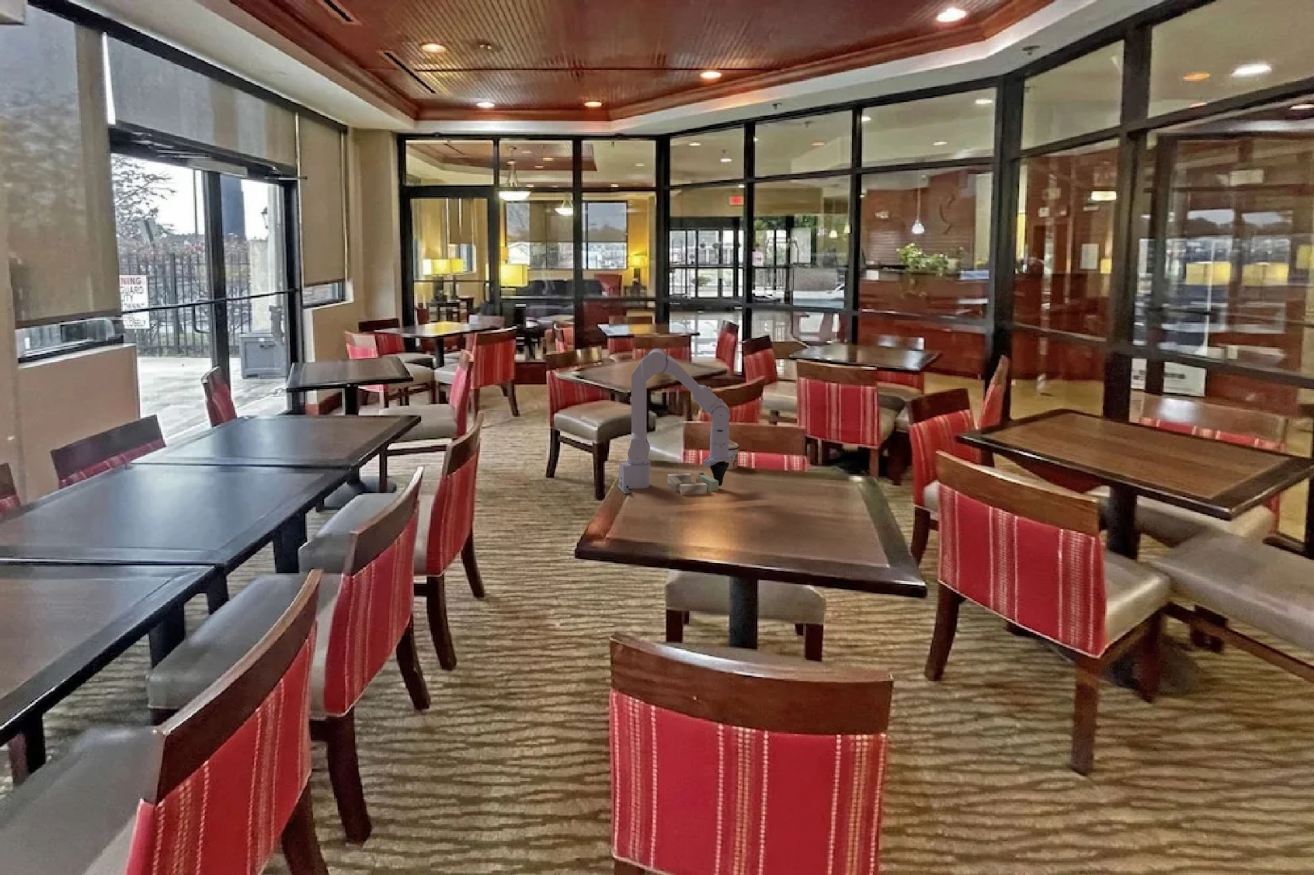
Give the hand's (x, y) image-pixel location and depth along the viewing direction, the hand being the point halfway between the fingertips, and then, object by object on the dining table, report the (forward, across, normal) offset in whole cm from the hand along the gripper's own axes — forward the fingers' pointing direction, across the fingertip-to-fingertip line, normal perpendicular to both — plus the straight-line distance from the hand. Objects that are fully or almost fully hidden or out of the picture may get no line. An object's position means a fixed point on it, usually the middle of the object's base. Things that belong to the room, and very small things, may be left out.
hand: (718, 485), depth 278 cm
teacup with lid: (+3, +26, +14) cm, 30 cm away
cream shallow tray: (+2, -4, +6) cm, 8 cm away
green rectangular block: (+1, -1, +4) cm, 4 cm away
